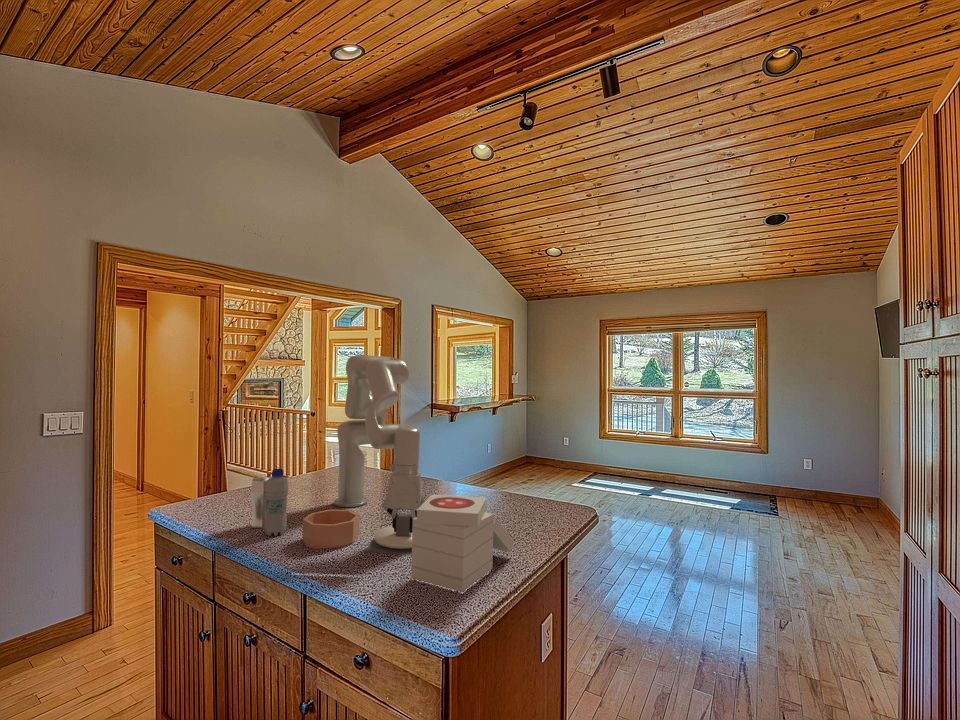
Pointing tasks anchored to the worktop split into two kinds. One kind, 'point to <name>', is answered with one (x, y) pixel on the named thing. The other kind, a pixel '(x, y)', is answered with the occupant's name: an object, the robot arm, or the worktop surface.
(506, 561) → the worktop surface
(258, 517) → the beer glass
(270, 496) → the bottle
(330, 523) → the bowl
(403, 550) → the mat
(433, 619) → the worktop surface
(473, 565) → the pizza boxes
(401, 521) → the lid
